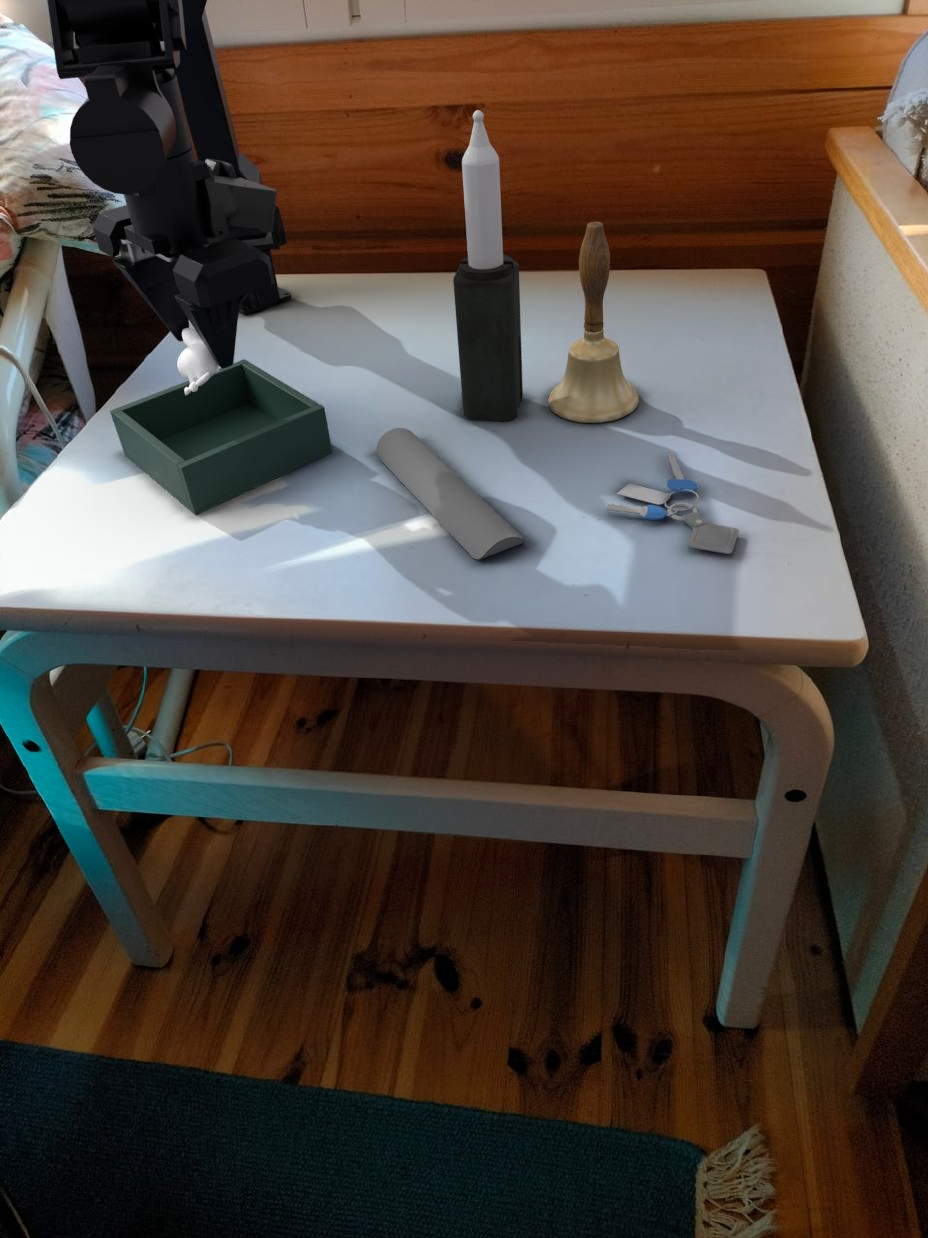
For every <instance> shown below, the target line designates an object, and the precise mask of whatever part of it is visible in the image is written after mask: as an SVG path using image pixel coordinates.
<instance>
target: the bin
mask: <svg viewBox="0 0 928 1238" xmlns="http://www.w3.org/2000/svg"><path fill="white" fill-rule="evenodd" d="M218 370H219V372H215V374H214V375H213V376H211V377H210V378H209V379H208V381H206V382H205V383H204V384H203V385H201V386H198V389H197V391H196V392H192V391H191V392H190V393H189V394H188V395H186V394H185V390H184V389H185V388H186V387H188V388H189V385H190V382H189V380H185V381H184V382H181V383H179V384H176V385H173V386H171V387H168V388H165V389H163V390H160V391H158V392H155V393H152V394H150V395H147V396H145V397H141V398H139V399H136V400H134V401H131V402H129V403H126V404H124V405H121V406H119V407H115V408H113V409H110V410H109V412H110V416H111V419H112V421H113V425H114V427H115V431H116V434H117V436H118V440H119V442H120V446H121V448H122V451H123V453H124V456H125V457H127V458H128V459H129V460H130V461H131V462H132V463H134V465H136V466H137V467H138V468H139V469H141V470H142V471H143V472H144V474H146V475H148V476H149V477H150V478H151V479H152V480H153V481H155V482H156V483H157V484H158V485H159V486H160V487H162V488H163V489H164V490H166V492H168V493H169V494H170V495H171V496H173V497H174V498H175V499H176V500H177V501H178V502H180V504H182V505H183V506H184V507H185V508H187V509H188V510H189V511H190V512H191V513H193V514H194V515H195V516H196V515H198V514H199V515H200V514H201V513H203V512H205V511H207V510H210V509H212V508H214V507H216V506H218V505H221V504H223V503H226V502H227V501H230V500H232V499H234V498H236V497H238V496H241V495H243V494H245V493H247V492H250V491H251V490H253V489H255V488H258V487H260V486H262V485H264V484H267V483H269V482H270V481H274V480H275V479H278V478H280V477H282V476H284V475H287V474H289V473H291V472H292V471H293V472H294V471H295V470H298V469H300V468H302V467H304V466H306V465H308V464H310V463H313V462H315V461H317V460H319V459H321V458H324V457H326V456H328V455H330V454H332V453H333V447H332V441H331V436H330V431H329V424H328V420H327V415H326V409H325V406H324V405H322V404H321V403H319V402H317V401H315V400H313V399H312V398H310V397H308V396H306V395H305V394H303V393H302V392H300V391H298V390H297V389H296V388H294V387H291V386H290V385H289V384H287V383H286V382H283V381H282V380H280V379H278V378H277V377H275V376H273V375H272V374H270V373H268V372H267V371H265V370H263V369H262V368H260V367H258V366H257V365H255V364H253V363H251V362H250V361H249V360H247V359H245V358H243V359H241V360H238V361H236V362H234V363H233V365H232V366H229V367H227V368H224V369H223V368H221V367H219V368H218Z"/></svg>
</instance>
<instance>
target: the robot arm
mask: <svg viewBox="0 0 928 1238" xmlns="http://www.w3.org/2000/svg"><path fill="white" fill-rule="evenodd" d="M46 2H47V10H48V17H49V23H50V30H51V40H52V46H53V53H54V60H55V68H56V73H57V76H58V78H59V80H67V79H78V78H82V79H83V85H84V87H85V91H86V95H87V98H86V99H85V101H84V102H83V103H82V104H81V105H80V106H79V108H78V109H77V111H76V113H74V116H73V117H72V120H71V124H70V127H69V148H70V152H71V154H72V156H73V159H74V161H75V163H76V165H77V167H78V169H80V171H81V172H82V173H83V175H84V176H85V177H86V178H87V179H88V180H90V181H91V182H92V183H93V184H94V185H96V186H98V187H99V188H100V189H102V190H104V191H107V192H110V193H113V194H117V195H123V198H124V201H125V204H126V205H121V206H118V207H115V208H112V209H108V210H104V211H100V212H99V213H98V214H97V217H96V219H95V221H94V223H93V225H92V227H91V228H92V231H93V234H94V237H95V239H96V244H97V246H98V250H99V251H101V252H102V253H104V254H106V255H108V256H110V257H112V262H113V265H114V266H115V267H117V268H118V269H119V270H120V271H121V273H122V274H123V275H124V276H125V277H126V279H127V280H128V282H130V284H131V285H132V286H133V287H134V289H135V290H136V291H137V292H138V293H139V295H140V296H141V297H142V298H143V299H144V301H145V302H146V303H147V304H148V306H149V307H150V308H151V309H152V311H153V312H154V313H155V314H156V316H157V317H158V318H159V319H160V321H161V322H162V323H163V324H164V326H165V327H166V328H167V329H168V331H169V332H170V333H171V334H172V336H173V337H174V338H175V340H177V341H178V342H184V341H183V338H182V330H183V329H185V328H190V325H192V327H193V329H194V330H195V331H196V332H197V333H198V335H199V336H200V338H201V340H202V341H203V343H204V344H205V346H206V347H207V349H208V351H209V352H210V354H211V355H212V357H213V358H214V359H215V361H216V362H217V364H218V365H219V366H218V368H223V369H224V368H227V367H229V366H232V365H233V363H235V353H236V352H235V351H236V344H237V343H236V342H237V341H236V340H237V333H238V332H237V331H238V323H239V322H238V321H239V315H240V314H243V315H249V314H252V313H254V312H257V311H260V310H263V309H266V308H268V307H270V306H273V305H276V304H279V303H283V302H285V301H288V300H290V299H292V298H293V297H292V296H293V295H292V292H289V291H287V290H285V289H283V288H282V287H279V285H278V281H277V274H276V269H275V265H274V261H273V260H274V259H273V255H272V250H275V251H279V250H281V246H282V247H283V246H284V245H286V244H287V243H288V240H287V235H286V229H285V224H284V221H283V217H282V213H281V210H280V208H279V207H280V206H279V205H278V204H277V194H278V190H276V189H275V188H272V187H270V186H267V185H265V184H263V183H264V182H263V179H262V175H261V171H260V170H259V168H258V167H257V166H256V165H255V164H254V163H253V162H252V161H251V160H250V159H249V158H248V157H246V155H245V154H244V153H242V152H241V151H240V147H239V144H238V138H237V135H236V131H235V127H234V123H233V119H232V114H231V110H230V107H229V102H228V99H227V98H228V97H227V93H226V91H225V90H226V89H225V86H224V82H223V78H222V73H221V69H220V65H219V61H218V57H217V53H216V49H215V45H214V40H213V37H212V33H211V28H210V24H209V20H208V16H207V11H206V5H207V2H208V0H46ZM161 42H163V47H164V49H163V48H162V43H161ZM75 45H76V47H75Z"/></svg>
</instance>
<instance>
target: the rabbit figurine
mask: <svg viewBox="0 0 928 1238" xmlns="http://www.w3.org/2000/svg"><path fill="white" fill-rule="evenodd" d="M182 338H183V341H182V342H183V343H184V345H185V346H186V348H184V350H182V351H181V353H180V355H179V356H178V358H177V362H176V365H177V370H178V372H179V374H180V375H181V376H182V377H183V378H184V379H186V380H188V381H189V382H190V385H189V388H188V387H186V388H185V389H184V390H185V394H186V395H188V394H189V393H190V392H191V391H192V392H196V391H197V389H198V386H201V385H203V384H204V383H205V382H206V381H208V379H209V378H210V377H211V376H213V375H214V374H215V372H219V370H218V369H219V365H218V364H217V362H216V361H215V359H214V358H213V357H212V355H211V354H210V352H209V351H208V349H207V347H206V346H205V344H204V343H203V341H202V340H201V338H200V336H199V335H198V333H197V332H196V330H195V328H192V327H189V328H185V329H183V330H182Z"/></svg>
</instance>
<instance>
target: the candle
mask: <svg viewBox="0 0 928 1238" xmlns="http://www.w3.org/2000/svg"><path fill="white" fill-rule="evenodd" d="M484 117H485V114H484V113H483V111H481V110H478V109H477V110H475V111H474V112H473V114H472V119H473V125H472V129H471V130H472V131H471V135H470V140H469V144H468V147H467V148H466V150H465V152H464V155H463V156H462V159H461V169H462V170H461V171H462V184H463V185H462V186H463V200H464V203H463V204H464V215H465V217H464V218H465V232H466V248H467V256H466V257H464V258H462V259H461V260H460V261H459V262H460V263H458V268H457V270H456V272H455V274H454V275H453V278H452V282H453V294H454V295H453V296H454V297H453V298H454V308H455V309H454V311H455V322H456V323H455V324H456V336H457V337H456V338H457V347H458V348H457V349H458V362H459V363H458V364H459V373H460V375H459V376H460V390H461V402H462V415H463V417H465V418H466V419H468V420H473V421H492V422H493V421H495V422H497V421H498V422H508V421H512V420H515V419H516V418H517V417H518V416H519V408H520V404H521V403H522V402H523V401H524V393H523V392H524V391H523V390H524V389H523V356H522V328H521V327H522V326H521V325H522V324H521V293H520V292H521V290H520V288H521V287H520V265H519V262H517V261H515V260H514V259H513V258H512V257H511V256H510V255H507V254H505V253H504V249H503V248H504V246H503V224H502V223H503V222H502V200H501V199H502V196H501V195H502V194H501V175H500V174H501V173H500V172H501V171H500V170H501V169H500V156H499V154H498V153H497V151H496V150H495V149H494V147H493V146H492V144H491V141H490V139H489V136H488V132H487V129H486V127H485V124H484V121H483V120H484Z"/></svg>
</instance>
